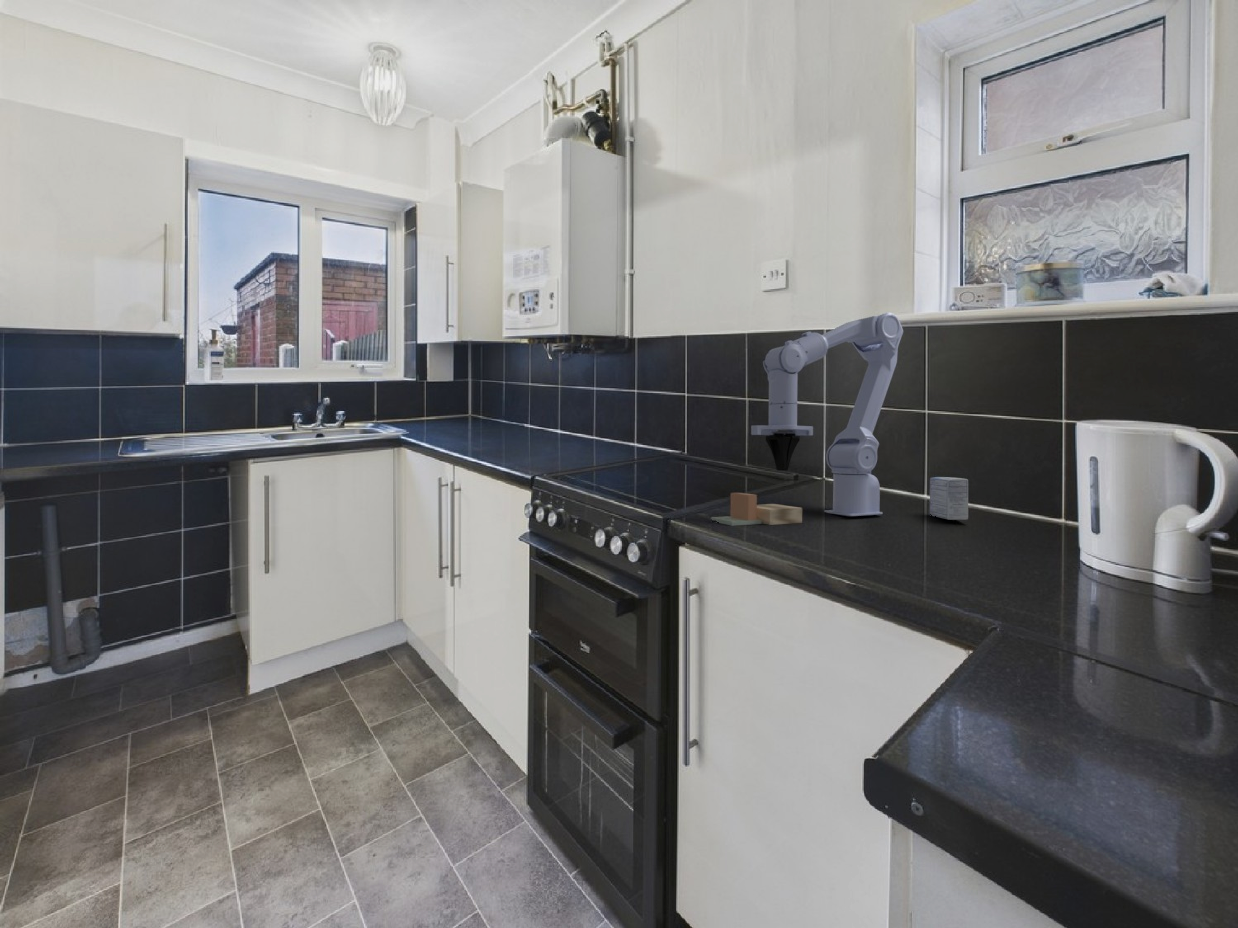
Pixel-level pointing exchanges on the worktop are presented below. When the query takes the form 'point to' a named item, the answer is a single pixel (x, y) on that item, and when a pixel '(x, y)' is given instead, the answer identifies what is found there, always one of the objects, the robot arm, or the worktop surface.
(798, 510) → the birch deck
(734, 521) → the sage mat
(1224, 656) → the worktop surface
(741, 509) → the terracotta block
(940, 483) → the medicine box
